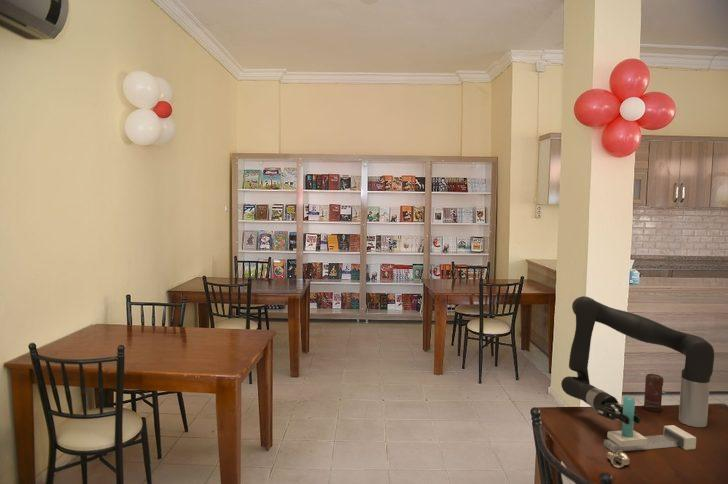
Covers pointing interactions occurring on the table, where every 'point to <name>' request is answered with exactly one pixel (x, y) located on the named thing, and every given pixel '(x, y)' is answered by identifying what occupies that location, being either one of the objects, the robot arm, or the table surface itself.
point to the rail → (652, 443)
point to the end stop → (681, 437)
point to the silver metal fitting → (618, 458)
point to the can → (653, 392)
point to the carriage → (627, 427)
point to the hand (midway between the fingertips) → (633, 421)
